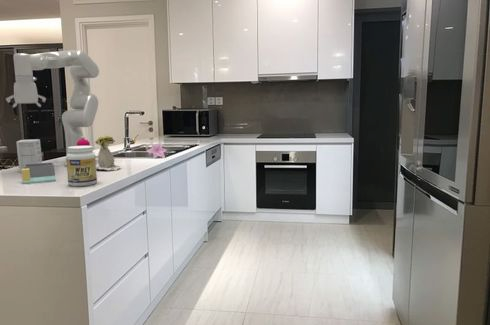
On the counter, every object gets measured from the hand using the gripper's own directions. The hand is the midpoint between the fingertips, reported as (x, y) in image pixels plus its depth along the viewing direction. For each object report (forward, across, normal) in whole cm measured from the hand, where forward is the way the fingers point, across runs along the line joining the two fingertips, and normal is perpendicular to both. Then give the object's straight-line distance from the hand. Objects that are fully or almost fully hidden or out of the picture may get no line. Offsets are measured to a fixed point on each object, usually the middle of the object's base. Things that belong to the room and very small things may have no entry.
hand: (27, 115), depth 196 cm
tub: (+30, -3, +5) cm, 31 cm away
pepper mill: (+30, -23, +15) cm, 41 cm away
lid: (+29, -2, +20) cm, 36 cm away
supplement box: (+30, +1, -13) cm, 33 cm away
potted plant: (+31, -36, 0) cm, 47 cm away
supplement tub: (+30, -20, +34) cm, 50 cm away
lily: (+31, -71, -30) cm, 83 cm away
